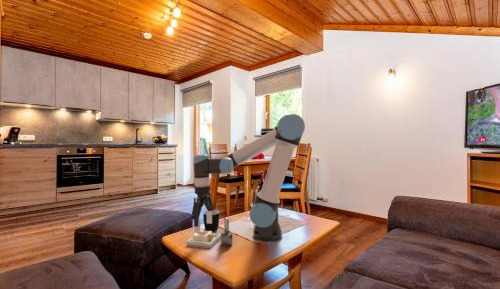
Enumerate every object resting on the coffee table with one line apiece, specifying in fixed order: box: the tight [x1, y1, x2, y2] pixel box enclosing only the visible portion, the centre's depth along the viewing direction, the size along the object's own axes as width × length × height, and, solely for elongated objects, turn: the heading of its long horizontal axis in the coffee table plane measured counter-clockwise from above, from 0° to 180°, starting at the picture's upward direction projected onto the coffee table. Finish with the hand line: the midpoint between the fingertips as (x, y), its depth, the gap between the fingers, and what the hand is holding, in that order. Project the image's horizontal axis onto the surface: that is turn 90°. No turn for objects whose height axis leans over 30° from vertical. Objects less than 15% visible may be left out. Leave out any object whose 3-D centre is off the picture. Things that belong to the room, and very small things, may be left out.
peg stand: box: [220, 216, 233, 248], centre depth 120 cm, size 6×6×13 cm
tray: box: [186, 232, 222, 249], centre depth 124 cm, size 13×13×2 cm
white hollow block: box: [192, 229, 214, 243], centre depth 124 cm, size 9×7×3 cm
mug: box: [202, 209, 220, 233], centre depth 141 cm, size 12×9×10 cm
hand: (203, 227), depth 124 cm, fingers open, 13 cm apart
